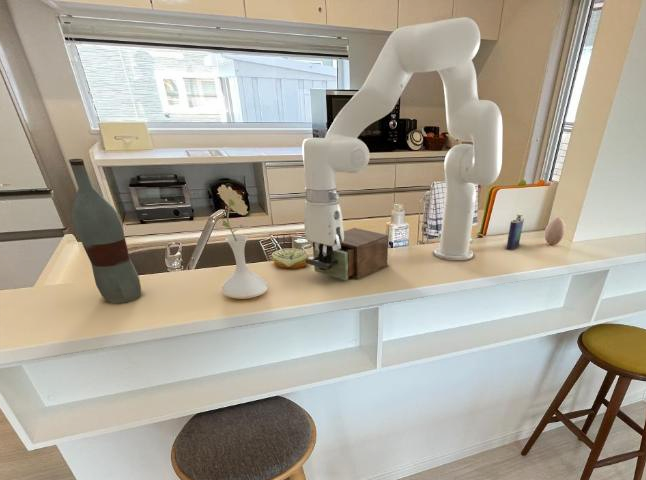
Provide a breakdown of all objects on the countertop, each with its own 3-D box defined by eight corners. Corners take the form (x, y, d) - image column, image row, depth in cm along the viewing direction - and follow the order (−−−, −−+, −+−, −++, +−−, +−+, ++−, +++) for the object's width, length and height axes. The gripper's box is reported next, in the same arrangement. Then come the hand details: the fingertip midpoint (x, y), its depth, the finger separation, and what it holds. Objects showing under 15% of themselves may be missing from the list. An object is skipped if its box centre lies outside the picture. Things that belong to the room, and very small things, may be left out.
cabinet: (357, 279, 117) (357, 246, 111) (323, 269, 122) (321, 237, 117) (387, 265, 126) (388, 235, 121) (354, 257, 132) (354, 227, 127)
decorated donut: (291, 272, 119) (289, 259, 117) (265, 265, 124) (263, 252, 122) (316, 263, 127) (315, 251, 124) (290, 256, 131) (289, 244, 129)
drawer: (332, 286, 110) (331, 258, 105) (301, 276, 115) (298, 249, 111) (374, 267, 122) (375, 242, 118) (344, 259, 128) (344, 234, 124)
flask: (513, 242, 150) (519, 211, 144) (521, 244, 149) (527, 212, 143) (504, 249, 144) (510, 216, 138) (512, 250, 143) (519, 217, 136)
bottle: (107, 291, 105) (57, 156, 88) (147, 288, 107) (106, 156, 90) (97, 306, 98) (41, 162, 81) (140, 302, 100) (94, 162, 83)
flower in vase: (275, 297, 105) (261, 189, 90) (229, 306, 99) (207, 193, 85) (258, 281, 114) (243, 180, 100) (215, 288, 108) (193, 183, 94)
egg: (542, 241, 153) (548, 214, 148) (561, 243, 152) (568, 216, 147) (541, 245, 148) (548, 218, 143) (561, 248, 147) (568, 220, 141)
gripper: (354, 198, 102) (355, 271, 113) (309, 190, 109) (314, 259, 119) (334, 202, 97) (337, 278, 107) (288, 194, 104) (295, 266, 114)
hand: (325, 268), depth 113 cm, fingers closed
